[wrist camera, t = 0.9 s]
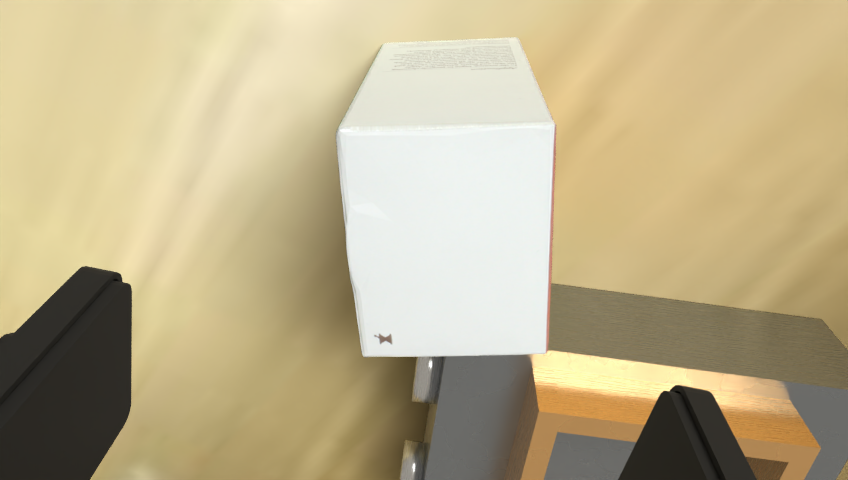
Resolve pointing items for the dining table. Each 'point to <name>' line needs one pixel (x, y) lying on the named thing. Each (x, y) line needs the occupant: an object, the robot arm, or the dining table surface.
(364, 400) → the dining table surface
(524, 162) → the small box
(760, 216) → the dining table surface
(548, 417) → the frame
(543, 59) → the dining table surface
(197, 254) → the dining table surface
